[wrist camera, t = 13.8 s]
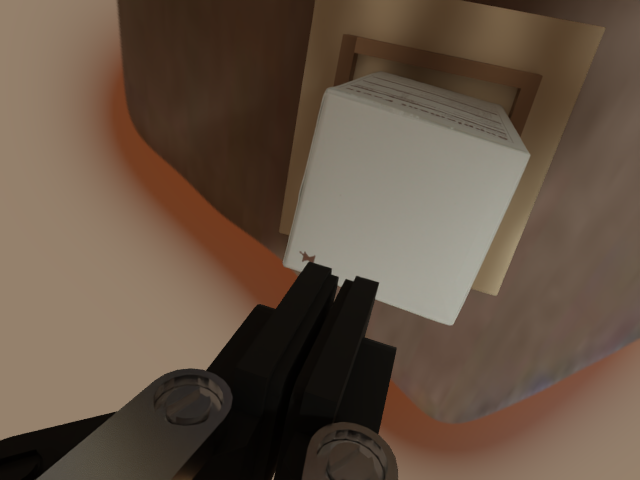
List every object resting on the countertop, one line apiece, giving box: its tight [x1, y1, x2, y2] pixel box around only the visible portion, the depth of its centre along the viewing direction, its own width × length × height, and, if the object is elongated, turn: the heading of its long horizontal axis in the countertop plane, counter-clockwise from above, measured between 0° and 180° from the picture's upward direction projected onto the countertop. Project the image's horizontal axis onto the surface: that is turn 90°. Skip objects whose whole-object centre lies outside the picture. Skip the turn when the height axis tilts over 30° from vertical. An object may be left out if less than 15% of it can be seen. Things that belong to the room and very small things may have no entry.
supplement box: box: [283, 71, 530, 325], centre depth 23 cm, size 7×7×13 cm
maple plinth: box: [279, 0, 606, 296], centre depth 30 cm, size 15×16×5 cm
